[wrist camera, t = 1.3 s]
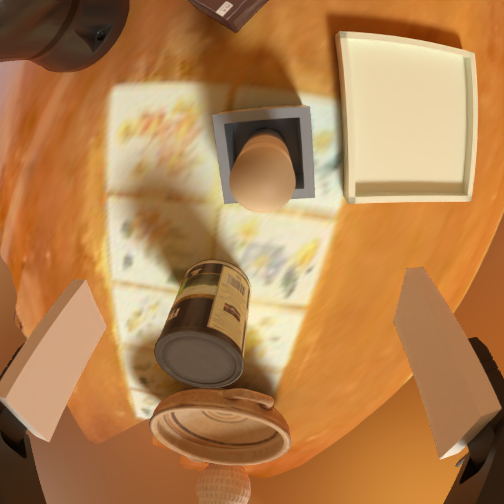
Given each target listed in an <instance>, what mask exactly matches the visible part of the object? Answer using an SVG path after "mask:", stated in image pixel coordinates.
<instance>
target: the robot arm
mask: <svg viewBox="0 0 504 504" xmlns="http://www.w3.org/2000/svg"><path fill="white" fill-rule="evenodd" d="M128 12H129V0H0V62H4V61H16V60H30V61H32V62H34V63H36V64H38V65H40V66H42V67H43V68H45V69H47V70H49V71H53V72H75V71H79V70H82V69H85V68H87V67H89V66H91V65H92V64H94V63H95V62H97V61H98V60H99V59H100V58H102V57H103V56H104V55H105V54H106V53H107V52H108V51H109V50H110V48H111V47H112V46H113V45H114V43H115V42H116V40H117V39H118V37H119V36H120V34H121V32H122V30H123V28H124V25H125V23H126V20H127V16H128ZM393 322H394V325H395V327H396V330H397V332H398V335H399V337H400V340H401V342H402V345H403V347H404V350H405V353H406V355H407V358H408V361H409V363H410V366H411V369H412V372H413V374H414V377H415V380H416V383H417V386H418V389H419V392H420V394H421V398H422V401H423V404H424V407H425V410H426V414H427V417H428V420H429V424H430V427H431V431H432V434H433V437H434V441H435V445H436V449H437V452H438V456H439V459H442V458H445V457H448V456H451V455H454V454H457V453H459V452H460V451H461V450H462V449H463V448H465V447H466V446H468V449H469V452H468V453H467V454H466V455H465V456H464V457H463V458H462V459H460V460H459V461H458V463H457V464H456V467H458V466H459V465H461V464H462V463H463V464H462V467H461V469H460V471H459V473H458V475H457V478H456V480H455V482H454V484H453V486H452V488H451V490H450V492H449V494H448V496H447V498H446V500H445V502H444V503H443V504H504V379H503V376H502V374H501V372H500V371H499V370H498V367H497V365H496V363H495V361H494V360H493V357H492V356H491V354H490V352H489V350H488V349H487V347H486V346H485V345H484V344H483V343H482V342H481V341H480V340H479V339H478V338H477V337H474V338H469V339H467V337H466V335H465V333H464V332H463V330H462V328H461V326H460V325H459V323H458V321H457V320H456V318H455V316H454V314H453V313H452V311H451V310H450V308H449V306H448V305H447V303H446V301H445V300H444V298H443V297H442V295H441V294H440V292H439V290H438V289H437V287H436V286H435V284H434V283H433V281H432V280H431V278H430V277H429V275H428V274H427V272H426V271H425V269H424V268H423V267H419V268H406V272H405V276H404V281H403V285H402V290H401V294H400V298H399V302H398V306H397V310H396V314H395V317H394V321H393ZM106 327H107V326H106V324H105V322H104V320H103V318H102V315H101V313H100V311H99V309H98V307H97V304H96V302H95V300H94V298H93V295H92V293H91V291H90V288H89V286H88V284H87V281H86V280H73V281H72V282H71V283H70V284H69V285H68V287H67V288H66V289H65V290H64V292H63V293H62V294H61V295H60V297H59V298H58V299H57V300H56V302H55V303H54V304H53V306H52V307H51V308H50V309H49V311H48V312H47V313H46V315H45V316H44V317H43V319H42V320H41V321H40V323H39V324H38V325H37V327H36V328H35V330H34V331H33V332H32V334H31V335H30V337H29V338H28V339H27V341H26V342H25V343H24V344H23V345H22V346H21V347H20V348H18V350H17V351H16V353H15V354H14V355H13V357H12V360H10V361H9V363H8V365H7V367H6V368H5V369H4V371H3V372H2V374H1V376H0V504H46V501H45V498H44V494H43V491H42V488H41V485H40V481H39V477H38V474H37V470H36V466H35V462H34V457H33V453H32V448H31V444H30V439H29V436H28V435H27V434H26V433H25V432H26V430H27V429H29V430H30V431H31V432H32V433H33V434H34V435H35V436H36V437H39V438H41V439H43V440H45V441H48V442H49V441H50V439H51V437H52V435H53V432H54V430H55V428H56V426H57V423H58V421H59V419H60V417H61V415H62V413H63V410H64V408H65V406H66V404H67V402H68V400H69V398H70V396H71V394H72V392H73V390H74V388H75V385H76V383H77V381H78V380H79V378H80V376H81V374H82V372H83V370H84V368H85V366H86V364H87V362H88V360H89V358H90V356H91V354H92V353H93V351H94V349H95V347H96V345H97V343H98V342H99V340H100V338H101V336H102V334H103V333H104V331H105V329H106Z"/></svg>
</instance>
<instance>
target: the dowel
mask: <svg viewBox="0 0 504 504" xmlns="http://www.w3.org/2000/svg"><path fill="white" fill-rule="evenodd" d="M229 185H230V190H231V192H232V195H233V197H234V198H235V199H236V201H237V202H238V203H239V204H240V205H241V206H243V207H244V208H246V209H248V210H250V211H253V212H258V213H267V212H272V211H275V210H278V209H280V208H281V207H283V206H284V205H285V204H286V203H287V202H288V201H289V200H290V198H291V197H292V195H293V193H294V190H295V185H296V179H295V174H294V170H293V166H292V163H291V159H290V156H289V152H288V149H287V145H286V142H285V139H284V137H283V135H282V134H281V133H280V132H279V131H278V130H276V129H274V128H270V127H262V128H259V129H257V130H255V131H254V132H253V133H252V134H251V135H250V136H249V138H248V140H247V142H246V144H245V145H244V147H243V149H242V151H241V153H240V154H239V156H238V158H237V160H236V162H235V164H234V165H233V167H232V169H231V172H230V176H229Z"/></svg>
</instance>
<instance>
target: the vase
mask: <svg viewBox="0 0 504 504" xmlns="http://www.w3.org/2000/svg"><path fill="white" fill-rule="evenodd" d="M250 493H251V485H250V480H249V477H248V475H247V473H246V471H245V470H244V468H243V467H242V466H241V465H222V464H215V463H210V464H209V465H208V466H207V467H206V468H205V469H204V470H203V471H202V473H201V475H200V477H199V479H198V483H197V497H198V500H199V503H200V504H247V503H248V500H249V498H250Z"/></svg>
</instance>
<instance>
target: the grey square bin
mask: <svg viewBox="0 0 504 504" xmlns="http://www.w3.org/2000/svg"><path fill="white" fill-rule="evenodd" d="M212 119H213V126H214V134H215V141H216V148H217V155H218V163H219V170H220V177H221V183H222V190H223V197H224V204H230V203H238V202H237V201H236V199H235V198H234V197H233V195H232V192H231V190H230V185H229V176H230V172H231V169H232V167H233V165H234V164H235V162H236V160H237V158H238V156H239V154H240V153H241V151H242V149H243V147H244V145H245V144H246V142H247V140H248V138H249V136H250V135H251V134H252V133H253V132H254V131H255V130H257V129H259V128H262V127H270V128H274V129H276V130H278V131H279V132H280V133H281V134H282V135H283V137H284V139H285V142H286V145H287V149H288V152H289V156H290V159H291V163H292V166H293V170H294V174H295V179H296V185H295V190H294V193H293V195H292V197H291V198H290V199H299V198H315V187H314V163H313V145H312V129H311V115H310V106H306V105H284V106H270V107H258V108H248V109H238V110H230V111H223V112H220V113H217V114H214V115H212Z"/></svg>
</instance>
